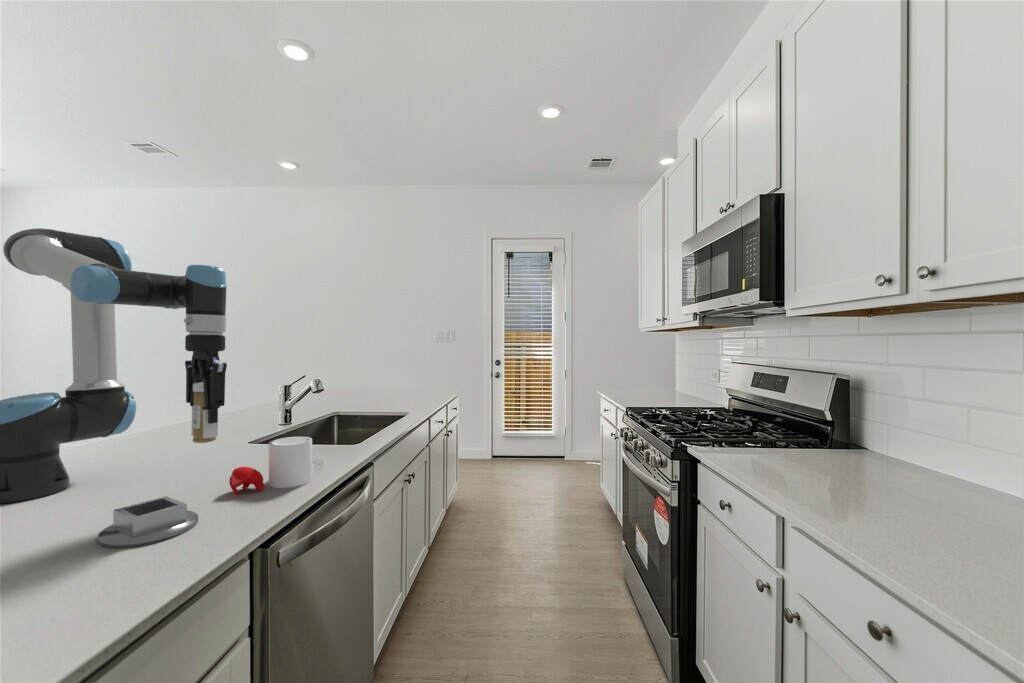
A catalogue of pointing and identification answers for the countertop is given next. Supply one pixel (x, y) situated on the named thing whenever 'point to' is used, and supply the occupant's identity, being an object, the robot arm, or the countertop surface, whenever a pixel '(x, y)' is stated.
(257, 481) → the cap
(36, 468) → the robot arm
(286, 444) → the mug
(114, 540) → the square hole disc
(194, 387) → the sprinkles bottle
